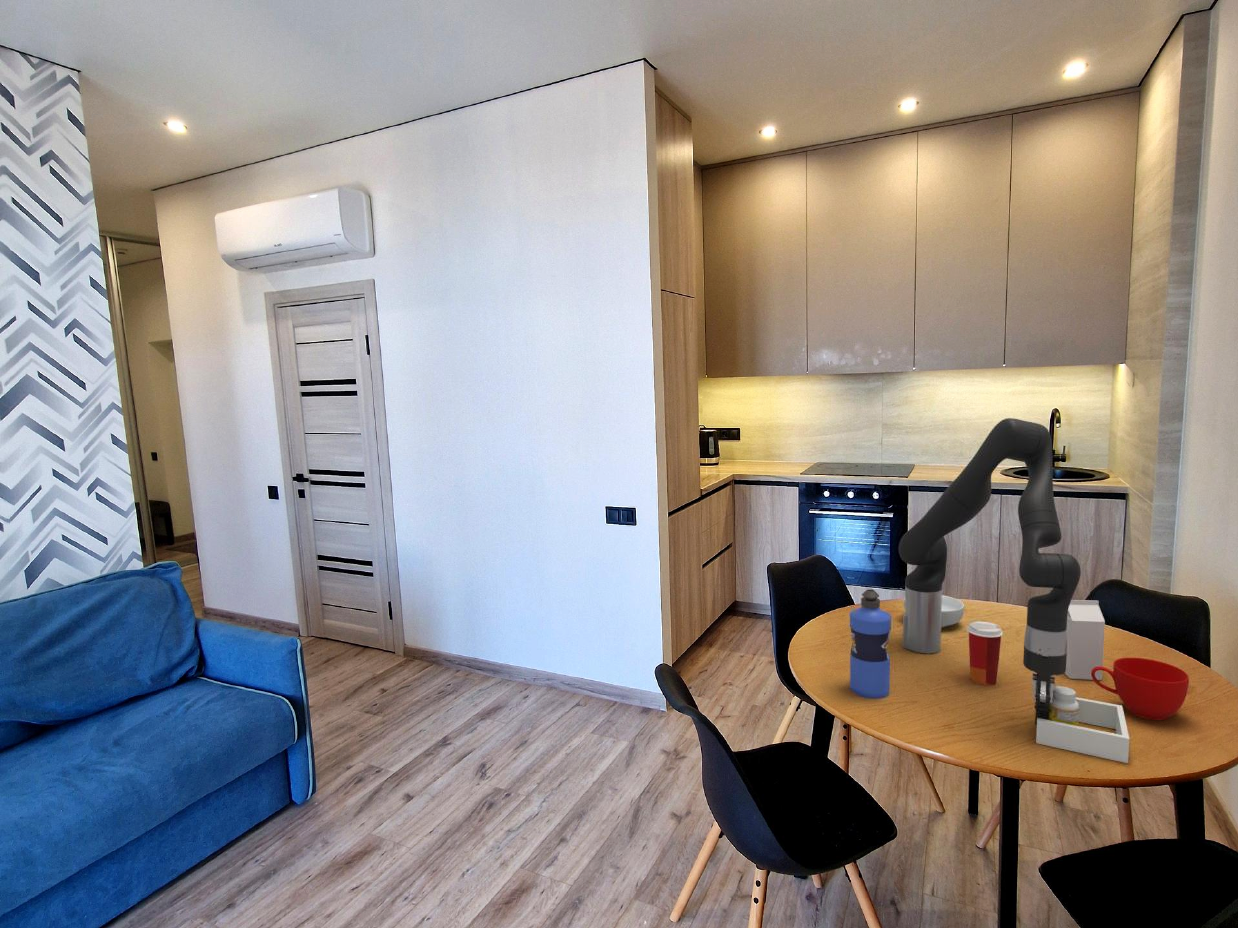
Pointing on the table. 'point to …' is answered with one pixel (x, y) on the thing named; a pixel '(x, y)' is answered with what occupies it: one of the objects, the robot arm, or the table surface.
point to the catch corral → (1089, 732)
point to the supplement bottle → (1064, 706)
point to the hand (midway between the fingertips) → (1041, 725)
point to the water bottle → (870, 648)
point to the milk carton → (1084, 639)
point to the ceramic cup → (1147, 686)
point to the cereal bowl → (950, 611)
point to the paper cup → (984, 652)
